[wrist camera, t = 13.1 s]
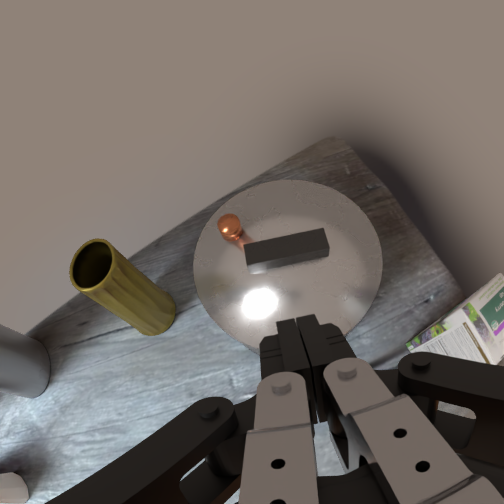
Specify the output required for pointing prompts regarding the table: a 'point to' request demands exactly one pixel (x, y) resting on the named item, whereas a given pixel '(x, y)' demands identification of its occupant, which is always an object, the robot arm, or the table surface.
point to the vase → (121, 287)
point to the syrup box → (469, 327)
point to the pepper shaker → (13, 489)
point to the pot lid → (286, 260)
